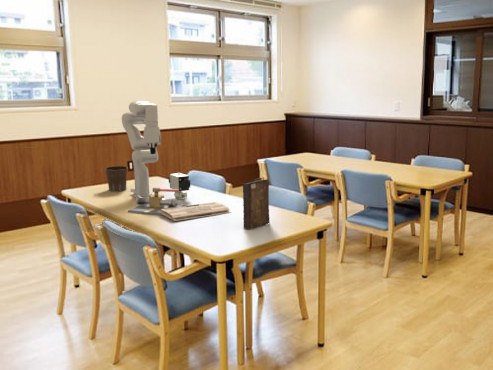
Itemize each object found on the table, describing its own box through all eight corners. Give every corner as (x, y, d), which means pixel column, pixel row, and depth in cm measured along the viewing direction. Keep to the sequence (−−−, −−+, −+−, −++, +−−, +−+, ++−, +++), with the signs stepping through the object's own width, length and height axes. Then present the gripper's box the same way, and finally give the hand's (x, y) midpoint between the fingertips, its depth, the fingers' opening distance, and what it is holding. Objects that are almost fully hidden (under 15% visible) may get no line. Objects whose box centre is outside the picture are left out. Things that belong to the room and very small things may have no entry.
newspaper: (214, 205, 302) (214, 200, 302) (230, 212, 287) (231, 208, 286) (159, 212, 282) (159, 208, 281) (174, 221, 266) (174, 216, 266)
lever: (151, 192, 292) (151, 188, 291) (154, 190, 296) (154, 187, 296) (177, 193, 289) (177, 189, 288) (179, 191, 293) (179, 188, 293)
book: (248, 230, 251) (248, 183, 246) (239, 227, 256) (238, 181, 251) (270, 224, 262) (271, 178, 257) (261, 221, 267) (261, 177, 262)
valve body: (136, 206, 297) (135, 191, 295) (141, 204, 302) (140, 189, 300) (173, 209, 289) (172, 194, 287) (178, 207, 294) (177, 192, 292)
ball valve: (192, 200, 319) (192, 173, 315) (181, 201, 314) (180, 174, 310) (179, 195, 333) (179, 169, 329) (168, 196, 328) (167, 171, 324)
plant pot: (125, 192, 343) (124, 169, 340) (103, 192, 343) (101, 169, 340) (131, 187, 359) (130, 166, 356) (109, 187, 359) (108, 166, 356)
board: (126, 212, 288) (126, 210, 288) (148, 203, 311) (148, 200, 311) (166, 216, 280) (165, 213, 279) (185, 206, 303) (185, 203, 302)
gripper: (138, 124, 298) (139, 154, 302) (159, 125, 293) (160, 155, 297) (144, 123, 305) (145, 152, 309) (165, 124, 300) (166, 153, 304)
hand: (153, 153), depth 303 cm, fingers closed
